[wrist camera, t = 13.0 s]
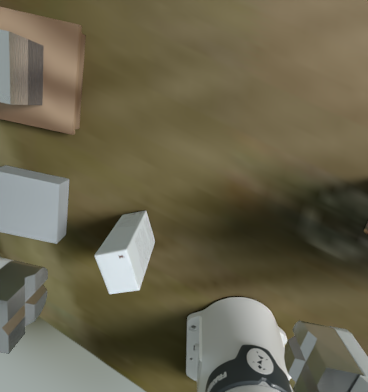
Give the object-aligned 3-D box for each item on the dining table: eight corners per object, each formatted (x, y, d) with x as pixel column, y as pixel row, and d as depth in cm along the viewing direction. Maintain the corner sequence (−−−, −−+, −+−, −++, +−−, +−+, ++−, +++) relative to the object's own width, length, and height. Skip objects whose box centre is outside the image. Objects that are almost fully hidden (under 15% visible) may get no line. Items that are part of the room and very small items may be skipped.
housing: (42, 105, 33) (10, 104, 27) (8, 97, 33) (-31, 95, 27) (43, 45, 31) (8, 31, 25) (7, 37, 31) (-37, 21, 25)
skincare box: (121, 214, 41) (92, 254, 30) (146, 209, 40) (127, 248, 29) (131, 246, 43) (108, 295, 31) (156, 242, 42) (141, 291, 31)
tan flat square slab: (82, 132, 37) (72, 134, 34) (-6, 113, 37) (-23, 114, 34) (89, 32, 33) (79, 24, 30) (-10, 9, 32) (-30, 0, 30)
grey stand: (66, 234, 43) (56, 243, 40) (7, 222, 42) (-7, 230, 40) (69, 179, 39) (59, 184, 36) (5, 165, 39) (-10, 169, 36)
